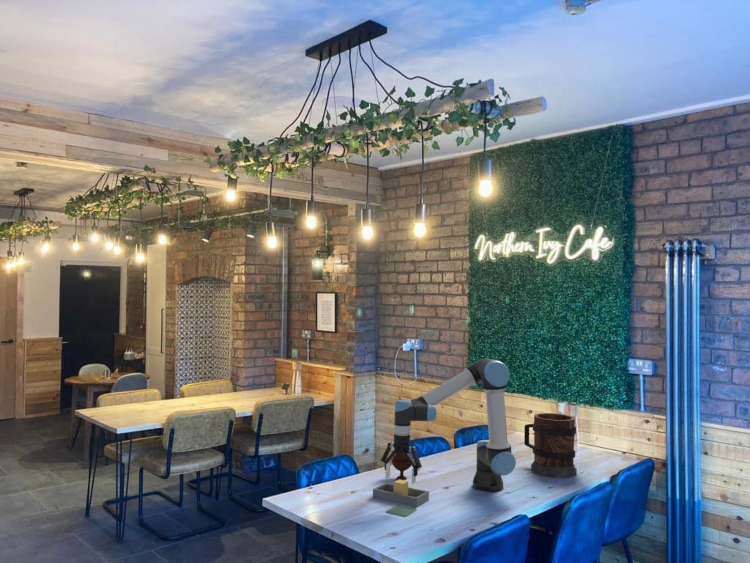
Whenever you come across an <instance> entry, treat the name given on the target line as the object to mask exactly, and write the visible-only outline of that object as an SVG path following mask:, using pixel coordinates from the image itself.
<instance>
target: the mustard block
mask: <svg viewBox="0 0 750 563" xmlns="http://www.w3.org/2000/svg"><path fill="white" fill-rule="evenodd" d="M393 484H394V492H393V493H397V494H402V495H407V496H408V487H409V481H408V480H400V479H399V480H398V479H396V480H395V481H393Z"/></svg>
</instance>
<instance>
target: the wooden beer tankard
mask: <svg viewBox="0 0 750 563" xmlns="http://www.w3.org/2000/svg"><path fill="white" fill-rule="evenodd" d="M523 427H524V429H523V430H524V446H526V447H528V448H530V449H532V453H533V456H534V460H533V461H532V463H531V464H530V471H531V472H532V473H533V474H536V475H537V476H542V477H547V478H554V479H571V478H574V477H576V476H577V474H578V473H577V471H578V469H577V467H576V466H575V464H574V459H575V458H576V450H575V435H576V434H577V427H576V418H575V417H574V416H572V415H568V414H564V413H563V414H561V413H555V412H551V413H550V412H545V413H544V412H541V413H536V414H535V413H534V415H533V423H529V424H525V425H524V426H523ZM530 428H532V431H533V432H534V433H533V435H534V436H533V441H534V442H533V443H532V444H531V443H530ZM570 477H571V478H570Z"/></svg>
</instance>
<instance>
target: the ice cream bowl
mask: <svg viewBox="0 0 750 563" xmlns="http://www.w3.org/2000/svg"><path fill="white" fill-rule="evenodd" d="M391 463H392V466H393V468H395V470H397V471H399V475H398V476H397V477H396V480H399V479H400V480H405V481H407V479H408V478H407V476H405V475H404V473H405V471H407V470H409V469H410V468H412V465H411V464H410V462H409V460H408V459H407V457H406V456H405V455H401V454H397V453H396V455H395V456H394V457H393V458H392V459H391Z"/></svg>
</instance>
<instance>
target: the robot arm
mask: <svg viewBox="0 0 750 563" xmlns="http://www.w3.org/2000/svg"><path fill="white" fill-rule="evenodd" d="M510 375H511V374H510V370H509V368H508V366H507V365H506V364H505V363H504V362H502V361H500V360H497V359H492V358H487V357H486V358H481V359H478V360H477V361H475V362H473V363H472V364H469V365H468V366H467V367H464V369H463V371H462V372H460V373H458V374H457V375H455V376H454V377H451V378H449V379H448V380H447V381H445V382H443V383H442V384H440V385H438V386H436V387H434V388H433V389H431V390H429V391H428V392H425V393H424V394H422V395H421V396H419V397H416V398H411V399H410V400H408V399H398V400H396V401H395V403H394V422H393V423H394V424H393V433H394V434H393V442H392V441H390V442H387V445H386V449H385V451H384V453H383V454H382V457H381V459H380V461H381V462H382V463H383V464H384V468H383V469H384V471H385V479H388V478H390V477H391V462H390V461H392V459H393V457H394V456H395V455H396V453H397V454H401V455H405V456H406V457H407V459H408V460H409V462H410V464H411V479H410V480H411V483H410V484H415V483H417V481H416V479H417V478H416V477H417V476H418V473H419V472H418V470H419V469H421V468H422V463H421V460H420V458H419V455H418V453H417V447H416V446H415V445H414V446H411V444H410V443H411V435H410V434H411V425H412V424H411V422H434V421H435V420H436V419H437V408H436V406H438V405H439V404H441V403H442V402H444V401H446V400H448V399H449V398H451V397H453V396H454V395H456V394H458V393H460V392H462V391H463V390H465V389H468V388H469V387H470V386H476V385H478V384H480V383H481V386H482V387H481V388H482V390H483V391H484V392H485V399H486V401H485V402H486V412H487V413H486V414H487V426H488V439H482V440H478V441H477V442H476V468H475V469H476V471H475V474H474V476H473V480H472V487H473V488H474V489H476V490H479V491H484V492H498V491H502V490H503V489H504V480H503V478H502V476H508V475H510V474H511V473H513V471H514V469H515V467H516V466H517V465H516V463H517V460H516V458H515V456H514V455H513V453H512V443H510V442H509V441H508V433H507V432H508V431H507V429H508V428H507V417H506V416H507V415H506V402H505V400H506V399H505V391H506V390H507V389H508V381H509V380H510V377H511V376H510ZM392 448H393V449H394V450H392ZM391 450H392V451H391ZM390 452H391V453H390ZM389 454H390V455H389Z"/></svg>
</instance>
